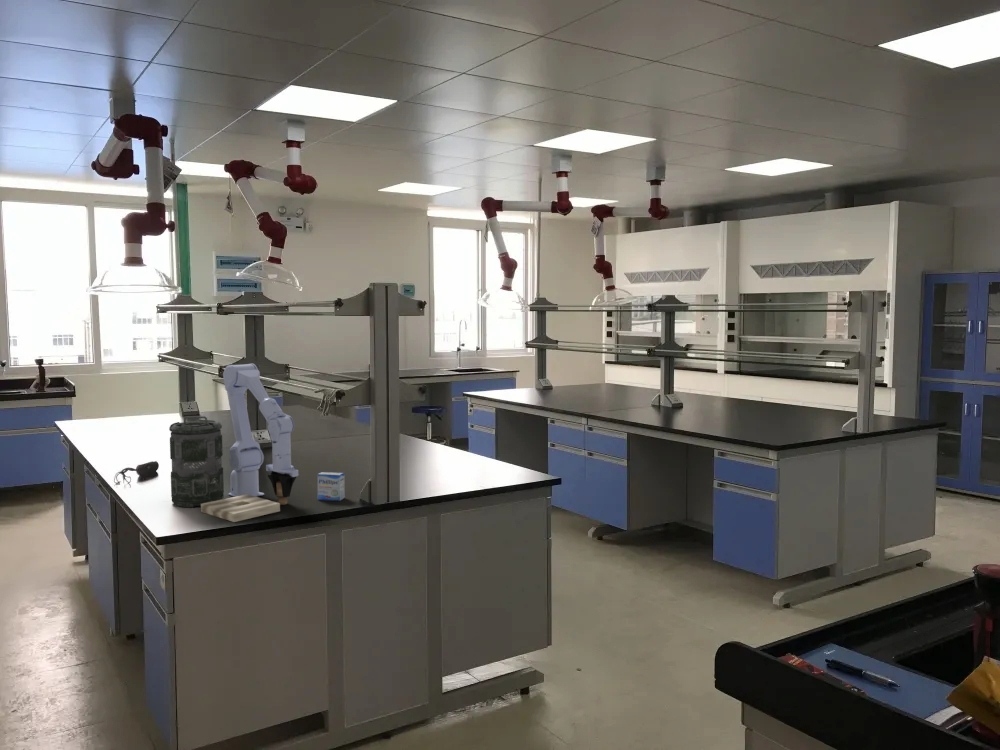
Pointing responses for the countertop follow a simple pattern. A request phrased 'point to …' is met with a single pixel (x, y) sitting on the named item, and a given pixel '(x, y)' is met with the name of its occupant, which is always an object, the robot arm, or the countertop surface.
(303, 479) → the countertop surface
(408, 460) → the countertop surface
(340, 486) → the medicine box
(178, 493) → the canister
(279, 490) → the peg
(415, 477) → the countertop surface
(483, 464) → the countertop surface
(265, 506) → the board
